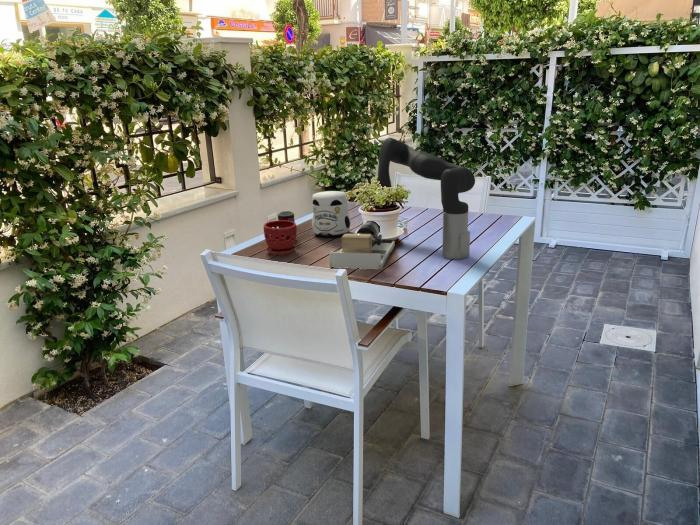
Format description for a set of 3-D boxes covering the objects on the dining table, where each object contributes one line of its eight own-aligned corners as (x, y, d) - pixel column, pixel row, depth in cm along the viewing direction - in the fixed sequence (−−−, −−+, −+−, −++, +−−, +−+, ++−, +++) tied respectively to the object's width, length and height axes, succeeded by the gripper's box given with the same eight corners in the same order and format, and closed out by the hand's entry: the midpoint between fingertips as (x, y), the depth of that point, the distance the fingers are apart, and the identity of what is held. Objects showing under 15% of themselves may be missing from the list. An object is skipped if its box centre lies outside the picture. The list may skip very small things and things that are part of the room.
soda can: (299, 238, 236) (297, 211, 232) (289, 242, 231) (287, 215, 227) (286, 236, 240) (284, 210, 236) (276, 241, 234) (273, 213, 230)
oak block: (346, 259, 202) (344, 233, 199) (372, 260, 200) (371, 234, 196) (342, 263, 197) (341, 237, 194) (369, 264, 195) (368, 238, 192)
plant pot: (268, 258, 211) (265, 229, 207) (263, 249, 223) (261, 221, 219) (301, 254, 214) (299, 225, 210) (295, 245, 226) (292, 218, 222)
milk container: (318, 241, 231) (315, 200, 225) (308, 231, 247) (305, 192, 241) (356, 236, 236) (354, 195, 230) (344, 227, 252) (342, 189, 246)
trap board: (349, 244, 225) (349, 230, 223) (394, 245, 220) (394, 231, 218) (329, 267, 197) (329, 252, 196) (380, 270, 193) (380, 254, 191)
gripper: (350, 223, 214) (339, 234, 200) (385, 224, 211) (377, 236, 196) (350, 241, 217) (340, 254, 202) (385, 242, 213) (377, 255, 198)
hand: (358, 245), depth 199 cm, fingers open, 8 cm apart
